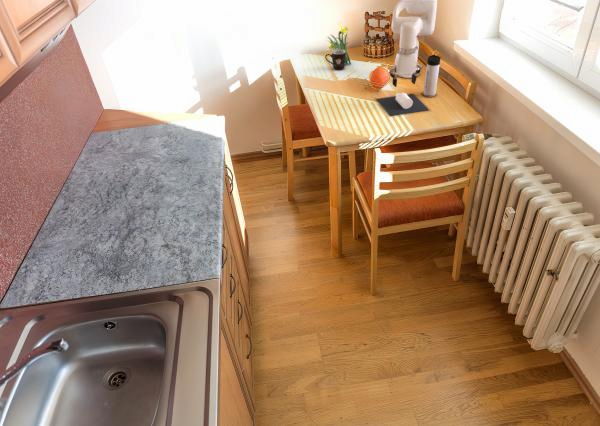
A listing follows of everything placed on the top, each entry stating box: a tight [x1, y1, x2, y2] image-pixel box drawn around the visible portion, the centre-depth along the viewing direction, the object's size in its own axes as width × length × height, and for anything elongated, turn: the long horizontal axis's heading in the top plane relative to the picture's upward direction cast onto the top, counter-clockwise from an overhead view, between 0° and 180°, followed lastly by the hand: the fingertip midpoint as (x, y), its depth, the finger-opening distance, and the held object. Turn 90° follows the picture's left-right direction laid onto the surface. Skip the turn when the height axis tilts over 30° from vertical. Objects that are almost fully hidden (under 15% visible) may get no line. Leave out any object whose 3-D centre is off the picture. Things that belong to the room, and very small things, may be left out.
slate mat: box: [376, 93, 430, 117], centre depth 229 cm, size 20×20×1 cm
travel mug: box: [423, 54, 441, 98], centre depth 230 cm, size 6×7×20 cm
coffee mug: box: [325, 49, 346, 71], centre depth 270 cm, size 12×9×10 cm
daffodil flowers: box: [326, 21, 352, 66], centre depth 284 cm, size 17×15×35 cm
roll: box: [395, 92, 413, 109], centre depth 227 cm, size 6×12×6 cm, turn 13°
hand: (403, 84), depth 223 cm, fingers open, 9 cm apart
